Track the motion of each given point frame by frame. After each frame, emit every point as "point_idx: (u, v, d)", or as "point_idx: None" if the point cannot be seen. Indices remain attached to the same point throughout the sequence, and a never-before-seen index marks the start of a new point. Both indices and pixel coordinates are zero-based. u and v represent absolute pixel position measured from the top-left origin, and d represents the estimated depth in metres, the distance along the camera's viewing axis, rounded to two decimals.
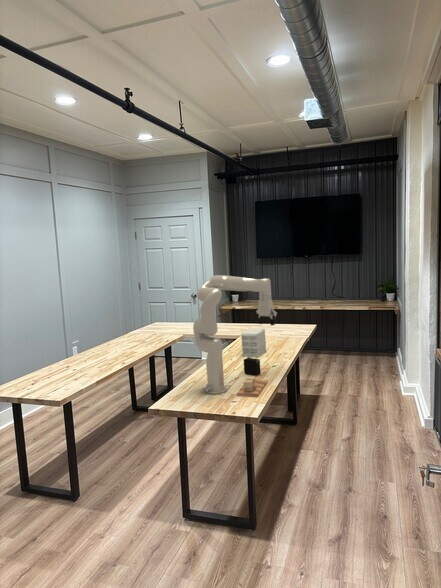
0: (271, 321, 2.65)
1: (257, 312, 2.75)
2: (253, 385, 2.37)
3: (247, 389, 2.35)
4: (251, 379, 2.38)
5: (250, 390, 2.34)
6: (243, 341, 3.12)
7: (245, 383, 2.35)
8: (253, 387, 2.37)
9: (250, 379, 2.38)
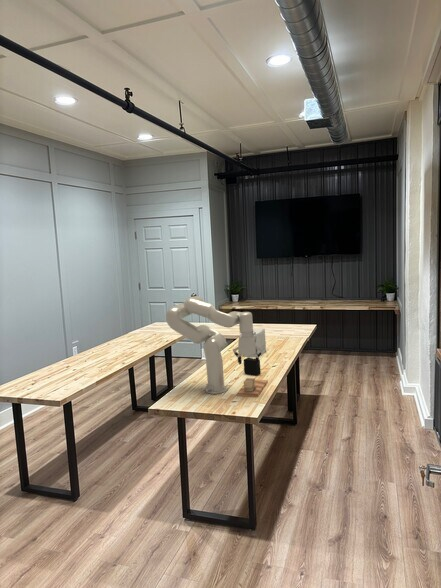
0: None
1: None
2: (253, 385, 2.37)
3: (247, 389, 2.35)
4: (251, 379, 2.38)
5: (250, 390, 2.34)
6: None
7: (245, 383, 2.35)
8: (253, 387, 2.37)
9: (250, 379, 2.38)
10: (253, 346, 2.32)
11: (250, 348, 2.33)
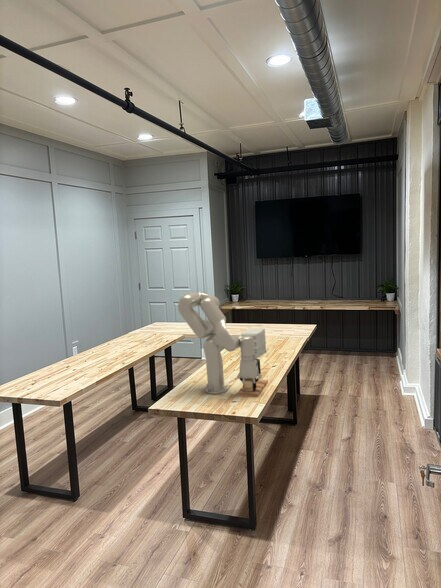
0: None
1: None
2: None
3: (247, 389, 2.35)
4: (251, 379, 2.38)
5: (250, 390, 2.34)
6: None
7: (245, 383, 2.35)
8: None
9: (250, 379, 2.38)
10: (254, 370, 2.33)
11: (251, 372, 2.34)
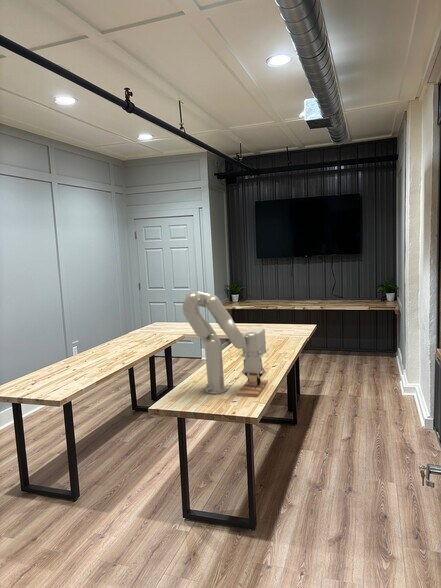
0: None
1: None
2: None
3: (251, 383, 2.44)
4: (255, 374, 2.46)
5: (254, 384, 2.43)
6: None
7: (249, 377, 2.44)
8: None
9: (254, 374, 2.47)
10: (258, 365, 2.42)
11: (255, 367, 2.43)
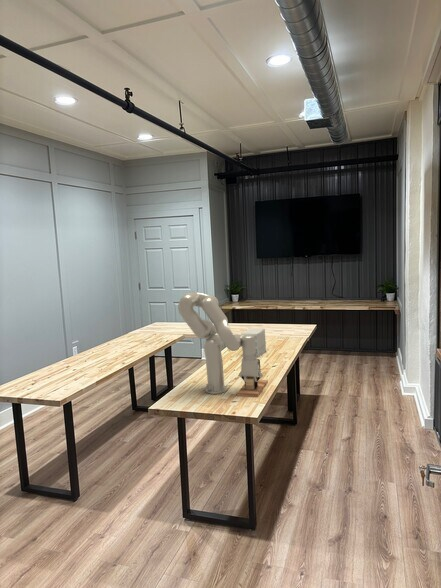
0: None
1: None
2: None
3: (248, 387, 2.38)
4: (252, 377, 2.41)
5: (251, 388, 2.37)
6: None
7: (247, 381, 2.38)
8: None
9: (251, 377, 2.41)
10: (256, 369, 2.37)
11: (253, 370, 2.37)
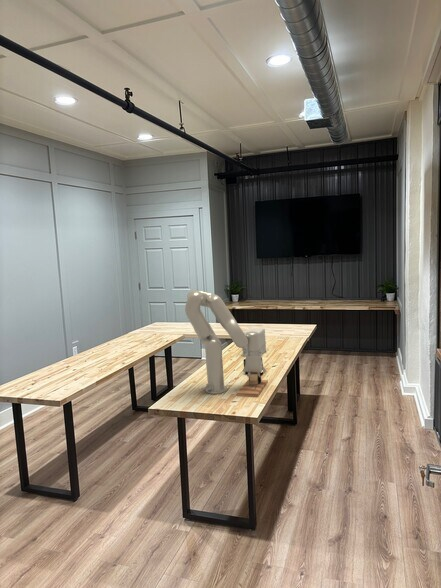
0: None
1: None
2: None
3: (252, 382, 2.46)
4: (256, 372, 2.49)
5: (255, 383, 2.45)
6: None
7: (250, 376, 2.46)
8: None
9: (255, 372, 2.49)
10: (259, 364, 2.44)
11: (256, 366, 2.45)
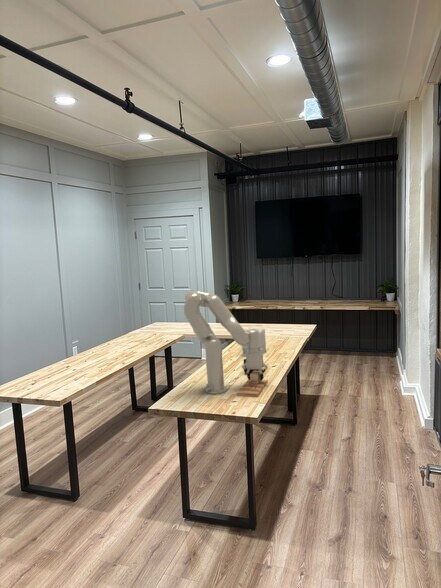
0: None
1: None
2: (259, 378, 2.49)
3: (253, 381, 2.47)
4: (257, 372, 2.50)
5: (256, 382, 2.46)
6: None
7: (251, 376, 2.47)
8: (259, 380, 2.49)
9: (255, 372, 2.50)
10: (260, 362, 2.45)
11: (257, 363, 2.46)
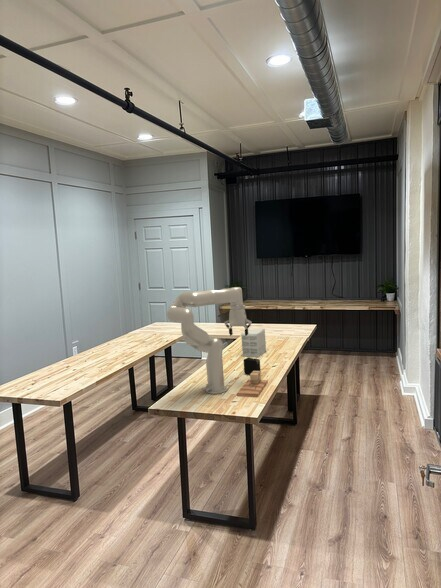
0: None
1: None
2: (259, 378, 2.49)
3: (253, 381, 2.47)
4: (257, 372, 2.50)
5: (256, 382, 2.46)
6: (243, 341, 3.12)
7: (251, 376, 2.47)
8: (259, 380, 2.49)
9: (255, 372, 2.50)
10: (242, 318, 2.53)
11: (240, 320, 2.54)
